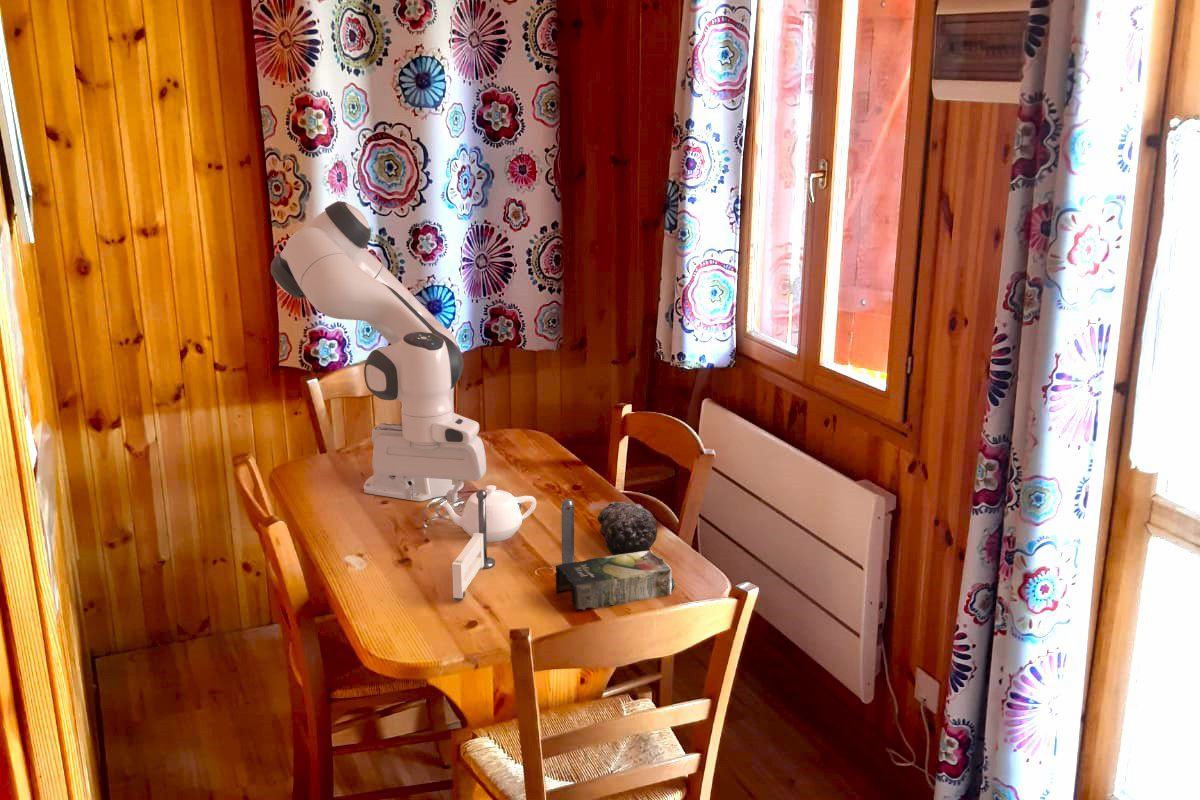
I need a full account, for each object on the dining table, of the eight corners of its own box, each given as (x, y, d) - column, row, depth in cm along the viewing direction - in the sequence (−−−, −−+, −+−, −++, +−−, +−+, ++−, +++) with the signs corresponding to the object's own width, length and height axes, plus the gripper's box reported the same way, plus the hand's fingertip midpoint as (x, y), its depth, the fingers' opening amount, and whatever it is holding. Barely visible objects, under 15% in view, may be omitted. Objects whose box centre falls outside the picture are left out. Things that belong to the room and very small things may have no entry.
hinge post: (469, 568, 207) (466, 493, 203) (475, 558, 211) (473, 484, 207) (491, 570, 206) (489, 494, 202) (497, 560, 211) (495, 486, 206)
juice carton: (654, 573, 206) (654, 543, 204) (677, 595, 197) (678, 564, 195) (554, 593, 198) (554, 562, 197) (574, 617, 190) (574, 585, 188)
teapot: (447, 551, 215) (446, 503, 212) (435, 528, 226) (433, 482, 223) (545, 538, 221) (544, 491, 218) (528, 516, 232) (527, 471, 230)
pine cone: (627, 526, 227) (628, 481, 224) (666, 559, 211) (667, 511, 209) (581, 534, 223) (581, 488, 220) (617, 568, 207) (618, 519, 205)
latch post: (560, 567, 208) (560, 500, 204) (563, 562, 210) (562, 496, 206) (573, 568, 207) (572, 501, 203) (575, 563, 209) (575, 497, 206)
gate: (475, 567, 207) (473, 532, 205) (485, 568, 206) (484, 533, 204) (452, 601, 193) (451, 563, 191) (463, 602, 193) (462, 564, 191)
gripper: (364, 427, 190) (368, 501, 193) (477, 434, 186) (479, 510, 190) (377, 417, 196) (381, 489, 199) (487, 423, 192) (489, 497, 196)
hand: (430, 499), depth 195 cm, fingers open, 7 cm apart
